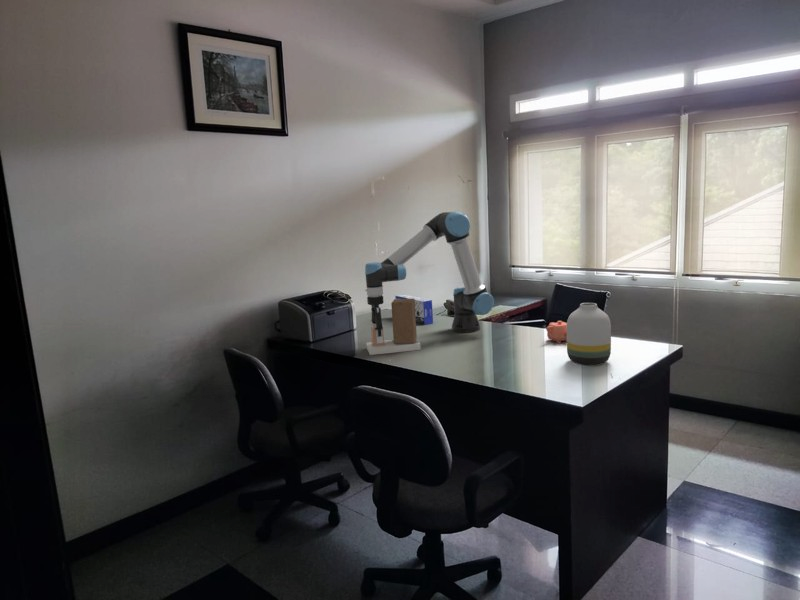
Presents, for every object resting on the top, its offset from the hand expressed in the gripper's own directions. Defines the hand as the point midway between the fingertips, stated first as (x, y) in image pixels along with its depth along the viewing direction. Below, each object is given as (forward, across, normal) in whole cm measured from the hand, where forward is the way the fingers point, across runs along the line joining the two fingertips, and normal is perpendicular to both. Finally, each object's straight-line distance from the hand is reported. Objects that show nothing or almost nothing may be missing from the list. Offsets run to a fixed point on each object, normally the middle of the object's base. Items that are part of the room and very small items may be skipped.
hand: (378, 339), depth 265 cm
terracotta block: (+2, 0, 0) cm, 2 cm away
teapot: (+6, +17, +84) cm, 86 cm away
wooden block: (+2, 0, +13) cm, 13 cm away
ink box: (+6, -62, +30) cm, 69 cm away
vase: (+6, +53, +79) cm, 95 cm away
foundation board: (+5, 0, +7) cm, 9 cm away
